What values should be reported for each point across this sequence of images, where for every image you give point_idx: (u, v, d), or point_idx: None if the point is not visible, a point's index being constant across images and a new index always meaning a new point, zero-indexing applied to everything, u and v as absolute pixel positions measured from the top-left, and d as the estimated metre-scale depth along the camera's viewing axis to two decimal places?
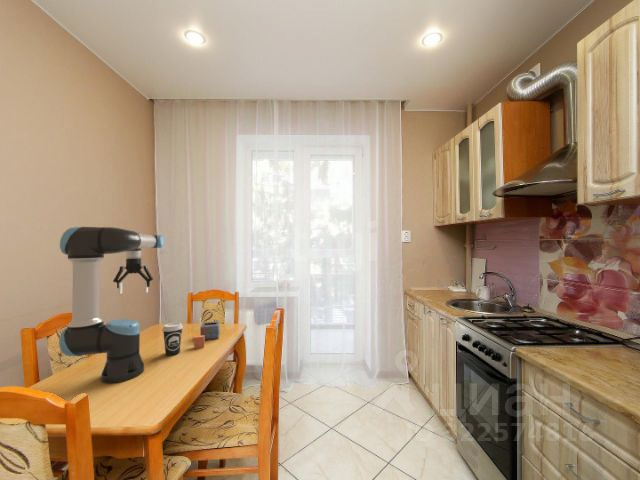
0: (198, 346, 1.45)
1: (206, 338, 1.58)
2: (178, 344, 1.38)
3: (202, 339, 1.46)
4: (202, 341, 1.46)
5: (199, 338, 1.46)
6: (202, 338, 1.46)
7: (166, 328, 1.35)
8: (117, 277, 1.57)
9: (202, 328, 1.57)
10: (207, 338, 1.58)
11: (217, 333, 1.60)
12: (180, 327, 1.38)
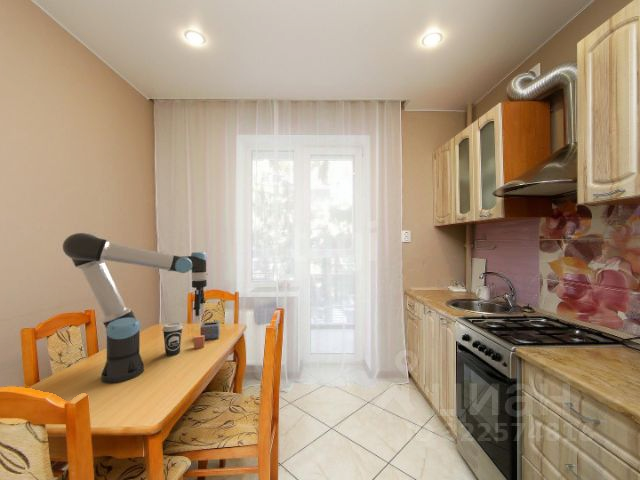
0: (198, 346, 1.45)
1: (206, 338, 1.58)
2: (178, 344, 1.38)
3: (202, 339, 1.46)
4: (202, 341, 1.46)
5: (199, 338, 1.46)
6: (202, 338, 1.46)
7: (166, 328, 1.35)
8: None
9: (202, 328, 1.57)
10: (207, 338, 1.58)
11: (217, 333, 1.60)
12: (180, 327, 1.38)
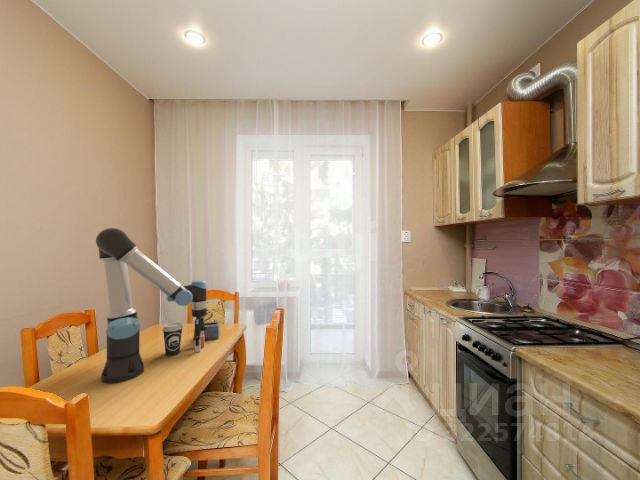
0: None
1: (206, 338, 1.58)
2: (178, 344, 1.38)
3: (202, 339, 1.46)
4: (202, 341, 1.46)
5: None
6: (202, 338, 1.46)
7: (166, 328, 1.35)
8: None
9: None
10: (207, 338, 1.58)
11: (217, 333, 1.60)
12: (180, 327, 1.38)
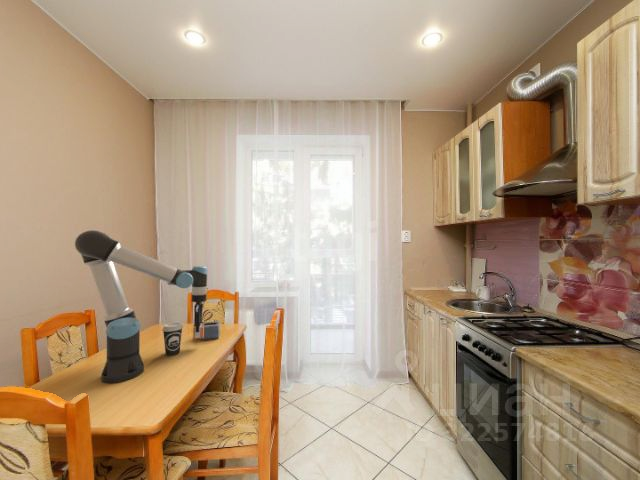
0: None
1: (206, 338, 1.58)
2: (178, 344, 1.38)
3: (201, 329, 1.46)
4: (201, 331, 1.46)
5: None
6: (201, 328, 1.46)
7: (166, 328, 1.35)
8: None
9: None
10: (207, 338, 1.58)
11: (217, 333, 1.60)
12: (180, 327, 1.38)
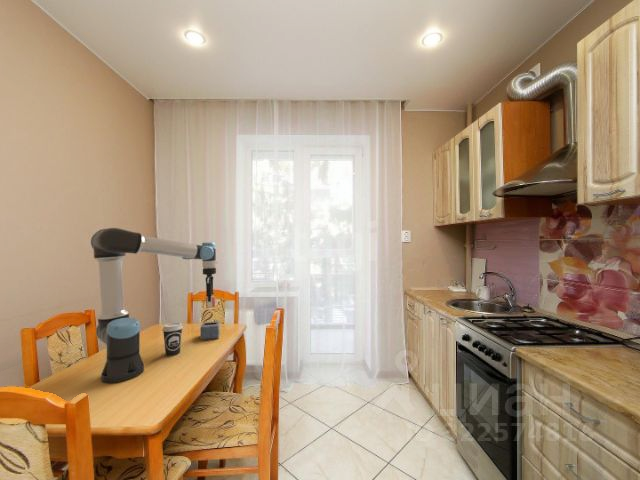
0: None
1: (206, 338, 1.58)
2: (178, 344, 1.38)
3: (213, 299, 1.61)
4: (213, 301, 1.61)
5: None
6: (213, 298, 1.61)
7: (166, 328, 1.35)
8: None
9: (202, 328, 1.57)
10: (207, 338, 1.58)
11: (217, 333, 1.60)
12: (180, 327, 1.38)
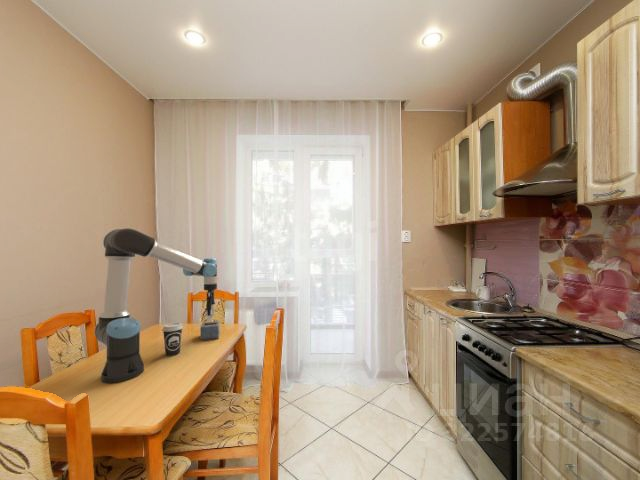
0: None
1: (206, 338, 1.58)
2: (178, 344, 1.38)
3: None
4: None
5: None
6: None
7: (166, 328, 1.35)
8: None
9: (202, 328, 1.57)
10: (207, 338, 1.58)
11: (217, 333, 1.60)
12: (180, 327, 1.38)
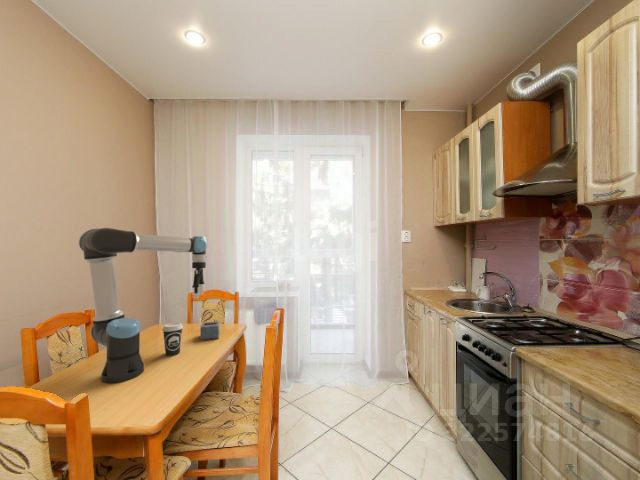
0: None
1: (206, 338, 1.58)
2: (178, 344, 1.38)
3: None
4: None
5: None
6: None
7: (166, 328, 1.35)
8: None
9: (202, 328, 1.57)
10: (207, 338, 1.58)
11: (217, 333, 1.60)
12: (180, 327, 1.38)
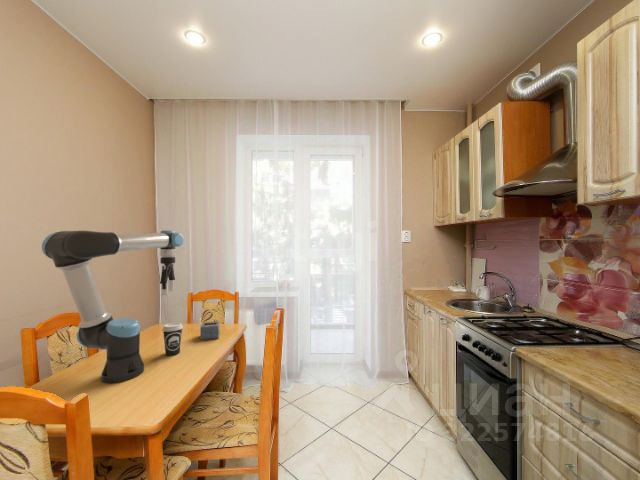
0: None
1: (206, 338, 1.58)
2: (178, 344, 1.38)
3: None
4: None
5: None
6: None
7: (166, 328, 1.35)
8: None
9: (202, 328, 1.57)
10: (207, 338, 1.58)
11: (217, 333, 1.60)
12: (180, 327, 1.38)
